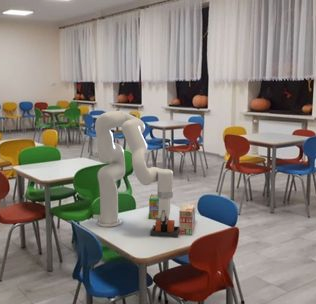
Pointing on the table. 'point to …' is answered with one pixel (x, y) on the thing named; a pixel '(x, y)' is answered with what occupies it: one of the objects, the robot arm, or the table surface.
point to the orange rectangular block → (169, 225)
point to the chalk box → (153, 207)
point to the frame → (165, 234)
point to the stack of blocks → (186, 219)
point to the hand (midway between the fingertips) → (164, 229)
